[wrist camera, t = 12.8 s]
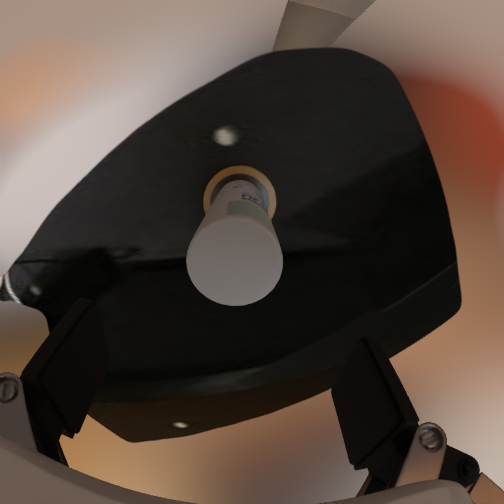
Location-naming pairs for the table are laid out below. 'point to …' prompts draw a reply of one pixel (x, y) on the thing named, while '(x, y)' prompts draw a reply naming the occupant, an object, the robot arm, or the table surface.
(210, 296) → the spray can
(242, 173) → the stand
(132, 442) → the table surface
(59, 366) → the robot arm
